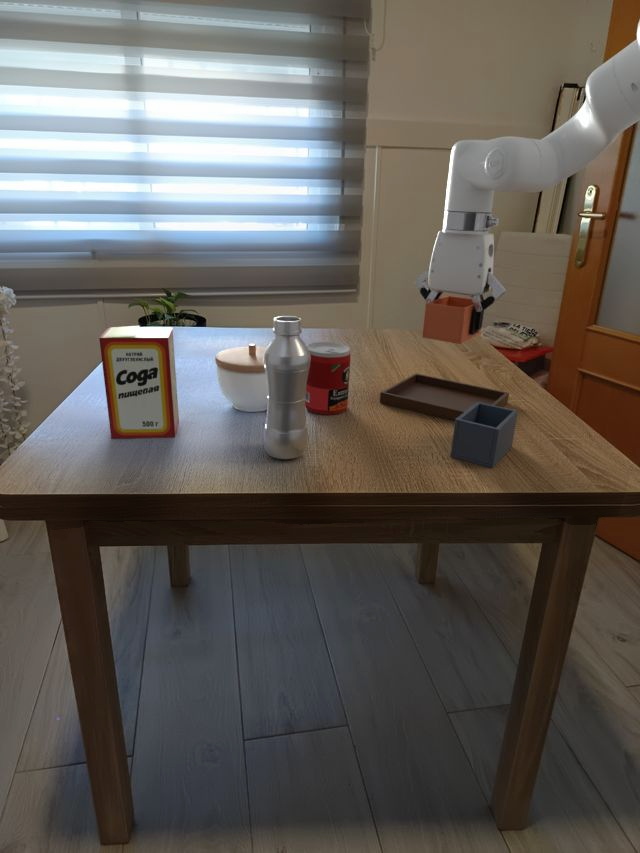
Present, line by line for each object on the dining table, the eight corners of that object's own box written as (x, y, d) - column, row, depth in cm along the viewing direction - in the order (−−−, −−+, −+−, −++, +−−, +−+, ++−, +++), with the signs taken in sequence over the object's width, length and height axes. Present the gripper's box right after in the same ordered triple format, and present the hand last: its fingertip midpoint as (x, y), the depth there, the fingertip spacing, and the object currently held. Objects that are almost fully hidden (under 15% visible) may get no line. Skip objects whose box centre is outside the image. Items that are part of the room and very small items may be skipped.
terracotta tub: (480, 333, 104) (485, 300, 102) (460, 344, 96) (465, 308, 94) (444, 327, 108) (448, 295, 105) (422, 337, 100) (425, 302, 98)
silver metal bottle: (253, 455, 83) (251, 318, 76) (285, 441, 88) (287, 311, 81) (285, 469, 80) (287, 326, 72) (317, 454, 84) (322, 319, 77)
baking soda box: (178, 421, 94) (172, 325, 88) (175, 437, 88) (167, 335, 82) (119, 422, 93) (108, 325, 87) (111, 438, 87) (98, 335, 81)
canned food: (335, 418, 98) (338, 356, 93) (295, 409, 101) (296, 348, 97) (355, 405, 104) (358, 346, 100) (317, 397, 107) (319, 339, 103)
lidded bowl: (226, 421, 95) (224, 357, 91) (210, 396, 106) (208, 338, 101) (297, 413, 99) (299, 351, 95) (275, 390, 110) (276, 334, 106)
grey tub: (511, 446, 89) (518, 410, 87) (492, 468, 82) (499, 429, 80) (472, 436, 92) (477, 401, 90) (450, 456, 85) (455, 419, 83)
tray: (507, 402, 108) (509, 392, 107) (480, 427, 96) (482, 416, 95) (414, 382, 118) (415, 373, 117) (379, 402, 106) (380, 392, 105)
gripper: (525, 226, 93) (507, 333, 100) (426, 219, 102) (416, 319, 109) (512, 228, 88) (494, 342, 94) (408, 220, 96) (399, 325, 103)
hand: (452, 328), depth 102 cm, fingers closed on terracotta tub, 7 cm apart
